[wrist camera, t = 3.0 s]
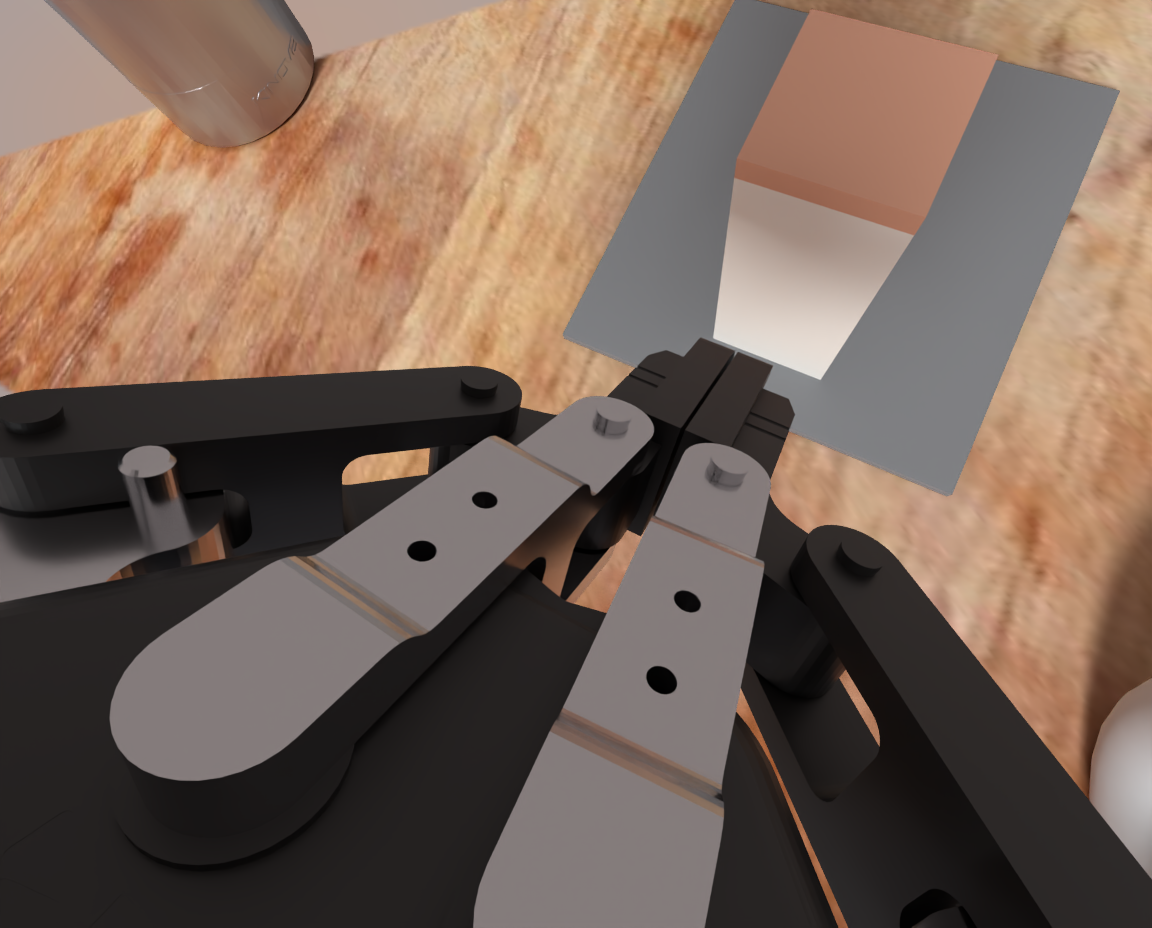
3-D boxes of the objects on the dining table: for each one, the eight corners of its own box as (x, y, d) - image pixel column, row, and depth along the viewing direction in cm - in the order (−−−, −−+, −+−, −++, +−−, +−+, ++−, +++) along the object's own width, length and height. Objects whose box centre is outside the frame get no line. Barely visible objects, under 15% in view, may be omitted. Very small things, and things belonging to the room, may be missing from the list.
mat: (564, 338, 30) (562, 334, 30) (736, 4, 32) (737, -5, 32) (946, 496, 26) (952, 494, 25) (1112, 99, 28) (1120, 90, 28)
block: (713, 338, 28) (736, 158, 17) (758, 244, 29) (811, 8, 17) (820, 379, 27) (925, 217, 16) (865, 281, 28) (998, 54, 16)
